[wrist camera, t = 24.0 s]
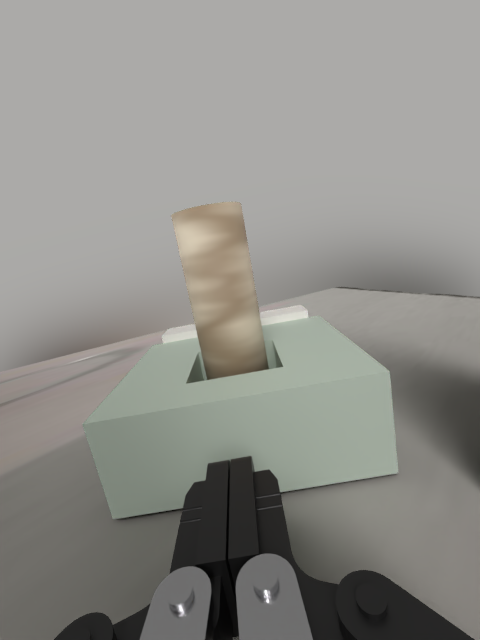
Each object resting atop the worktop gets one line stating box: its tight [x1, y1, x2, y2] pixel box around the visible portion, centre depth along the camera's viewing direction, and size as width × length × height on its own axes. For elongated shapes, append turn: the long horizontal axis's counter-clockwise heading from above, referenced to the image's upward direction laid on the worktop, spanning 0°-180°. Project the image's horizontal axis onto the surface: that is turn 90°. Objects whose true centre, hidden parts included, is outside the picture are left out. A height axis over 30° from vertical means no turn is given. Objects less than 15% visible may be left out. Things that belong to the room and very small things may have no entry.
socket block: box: [82, 316, 398, 519], centre depth 23 cm, size 16×14×6 cm
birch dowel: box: [171, 202, 269, 380], centre depth 21 cm, size 4×4×14 cm
